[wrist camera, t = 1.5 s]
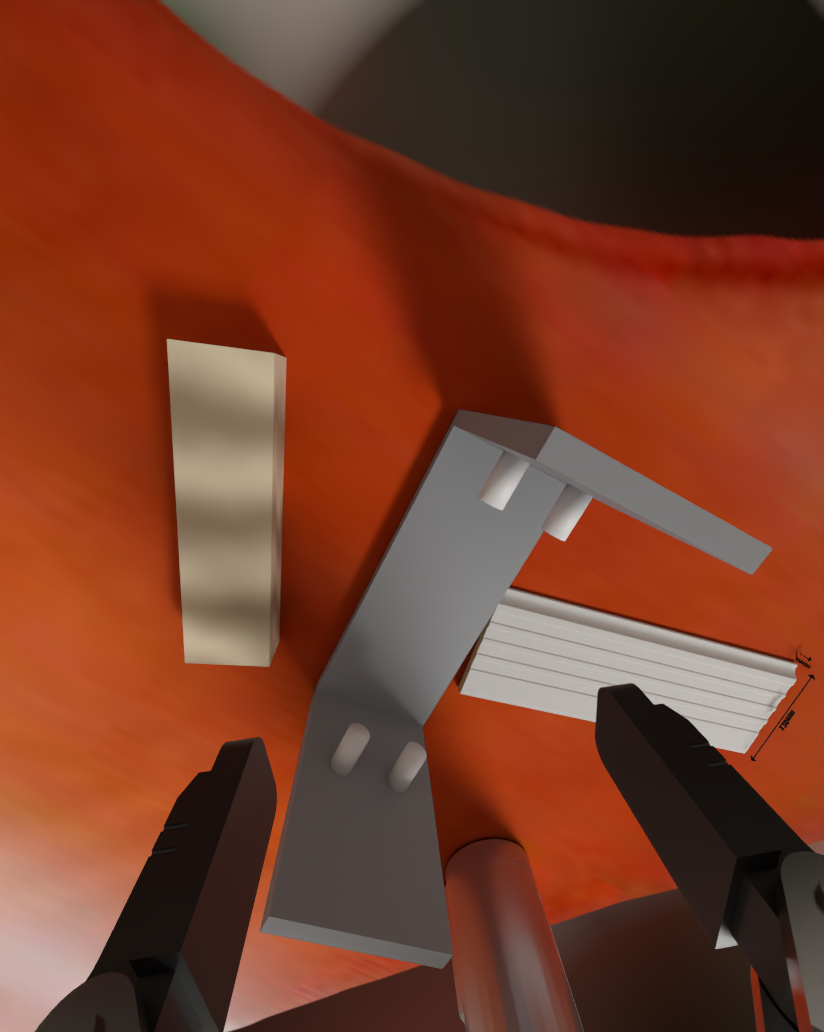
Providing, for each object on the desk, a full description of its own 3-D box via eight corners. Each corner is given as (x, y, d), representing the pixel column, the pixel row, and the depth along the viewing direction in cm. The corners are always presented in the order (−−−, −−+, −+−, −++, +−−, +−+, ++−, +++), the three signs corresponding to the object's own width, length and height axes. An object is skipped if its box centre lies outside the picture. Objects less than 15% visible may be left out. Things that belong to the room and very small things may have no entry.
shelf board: (280, 638, 33) (269, 666, 29) (205, 634, 32) (185, 662, 29) (287, 358, 26) (274, 353, 23) (194, 346, 26) (166, 338, 22)
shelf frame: (415, 725, 36) (442, 968, 21) (313, 690, 34) (259, 932, 19) (571, 470, 30) (772, 548, 15) (458, 409, 28) (555, 426, 13)
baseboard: (505, 566, 33) (456, 681, 36) (516, 582, 30) (463, 705, 33) (797, 646, 38) (732, 741, 41) (831, 666, 35) (758, 766, 38)
